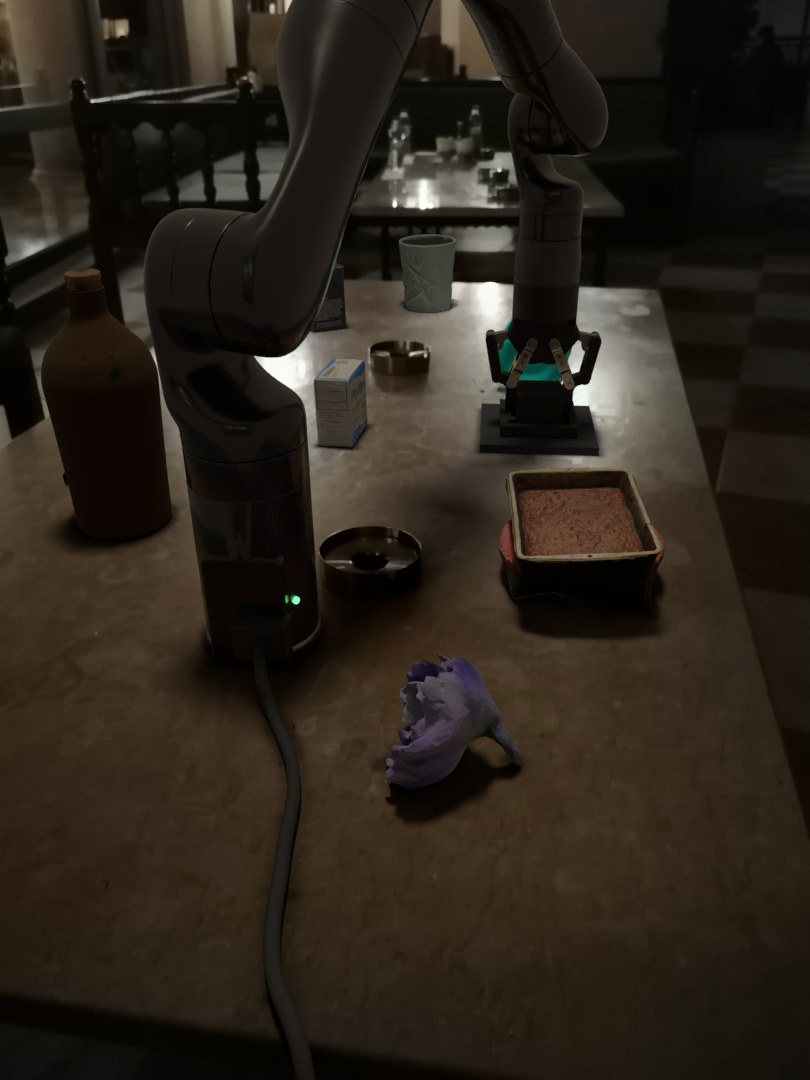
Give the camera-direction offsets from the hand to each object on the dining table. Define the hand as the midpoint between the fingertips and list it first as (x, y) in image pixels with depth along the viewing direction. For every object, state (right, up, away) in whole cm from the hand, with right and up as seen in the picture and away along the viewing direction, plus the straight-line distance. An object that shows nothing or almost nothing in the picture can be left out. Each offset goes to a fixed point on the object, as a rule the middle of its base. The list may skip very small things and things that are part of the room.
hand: (537, 414), depth 112 cm
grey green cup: (-12, +27, +55) cm, 63 cm away
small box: (-31, +22, +46) cm, 60 cm away
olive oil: (-45, -13, -19) cm, 51 cm away
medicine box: (-24, -3, +1) cm, 24 cm away
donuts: (+2, +7, +17) cm, 18 cm away
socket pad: (0, -2, +1) cm, 2 cm away
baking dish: (-1, -19, -30) cm, 35 cm away
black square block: (0, 0, 0) cm, 0 cm away
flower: (-14, -31, -51) cm, 61 cm away
